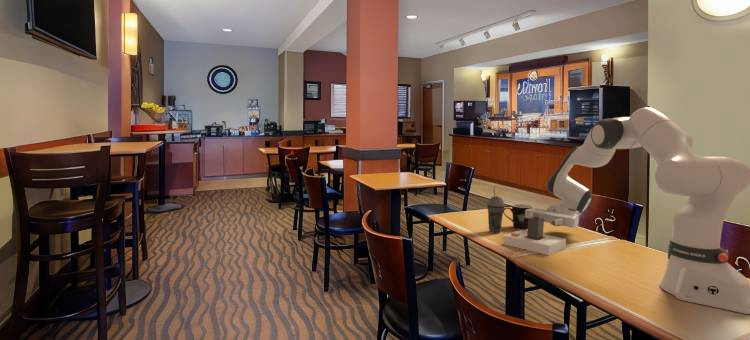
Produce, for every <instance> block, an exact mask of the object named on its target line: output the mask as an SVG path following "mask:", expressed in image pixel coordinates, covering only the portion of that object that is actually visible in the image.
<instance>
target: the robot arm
mask: <svg viewBox="0 0 750 340" xmlns="http://www.w3.org/2000/svg"><path fill="white" fill-rule="evenodd" d="M693 145H694V141H693V138H692V136H690V135H689V133H687V132H686V131H685V130H684V129H683V128H682V127H680V126H679V125H678V124H677V123H676V121H675V122H674V121H673V120H672V119H671V118H670V117H668V116H667V115H666V114H664V113H662V112H661V111H659V110H657V109H655V108H653V107H650V106H649V107H648V106H646V107H641V108H639V109H636V110H635V111H634V112H632V113H631V114H630V115H629V116H620V117H619V116H618V117H613V118H604V119H601V120H598V121H597V122H595V123H594V125H593V126H592V128H591V129H590V131H589V132H588V134H587V135H586V138H585V139H584V142H583V144H582V145H579V146H578V145H577V146H575V147H573V148H572V149H571V150H570V151H569V152H568V153H567V155H566V156H565V157H564V159H563V160H562V161H561V163H560V165H558V167H557V169H556V170H555V171H554V173H553V174H552V175H551V176H550V177H549V179H548V180H547V181H546V182H547V183H546V188H547V192H548V193H549V194H551V195H553V196H555V197H557V198H559V199H561V200H562V202H560V203H556V204H552V205H550V206H548V207H547V209H542V208H537V207H536V208H535V207H534V208H533V207H532V208H531V209H526V210H525V218H527V219H528V218H530V217H534V212H537V213H539V217H540V218H544V223H549V225H551V226H553V227H560V226H561V227H568V228H577V227H579V221H580V216H581V215H582V213H584V212H585V211H586V210H587V209H588V208H589V207H590V205H591V203H592V201H593V194H592V191H591V189H589V188H588V187H587V186H584V185H583V184H581V183H580V182H578V181H576V180H574V179H573V178H571V177H570V176H569V173H570V171H571V169H572V168H573V167H574V165H578V166H582V167H587V168H601V167H603V166H606V165H607V164H609V162H610V161H611V159H613V157H614V155H615V153H616V150H628V149H629V150H630V149H637V148H643V149H644V150H645V151H646V152H647V153H648V154H649V155H650V156H651V158H653V159H654V161H655V162H656V163H657V167H656V169H655V172H654V180H655V184H656V186H657V187H658V189H659V190H660V191H662V192H663V193H665V194H670V195H674V196H679V197H689V198H688V200H687V201H686V203H685V204H684V205H683V206H682V207H681V208H680V209H678V210H677V211H676V212H675V214H674V215H673V221H672V229H671V231H672V232H671V239H670V240H669V241H668V246H667V248H668V249H667V259H668V260H667V264H666V265H667V266H666V269H665V271H664V272H665V273H664V274H663V277H662V279H661V282H660V284H659V287H660V288H661V289H662V290H663V291H665V292H667V293H669V294H671V295H672V296H674V297H675V298H676V299H678V300H680V301H683V302H689V303H693V304H697V305H698V304H699V305H704V306H707V307H713V308H717V309H723V310H727V311H730V312H731V311H732V312H736V313H741V314H744V315H745V314H746V315H750V281H749V279H748V278H747V277H745V275H744V274H742V273H741V272H740V271H738V270H737V269H736V268H734V267H733V266H732V265H731V264H730V263H729V262H728V260H729V250H728V249H726V250H725V248H723V247H721V238H722V232H723V225H724V221H725V218H726V215H727V212H728V211H729V208H730V207H731V205H732V204H733V202H734V200H736V198H737V196H739V194H741V193H742V192H743V191H745V190H746V189H747V188H748V187H749V186H750V167H749V166H748V164H746V163H745V162H744V161H742V160H739V159H736V158H731V157H728V156H703V155H699V154H698V153H695V152H694V151H693V150H692V149H693Z"/></svg>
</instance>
